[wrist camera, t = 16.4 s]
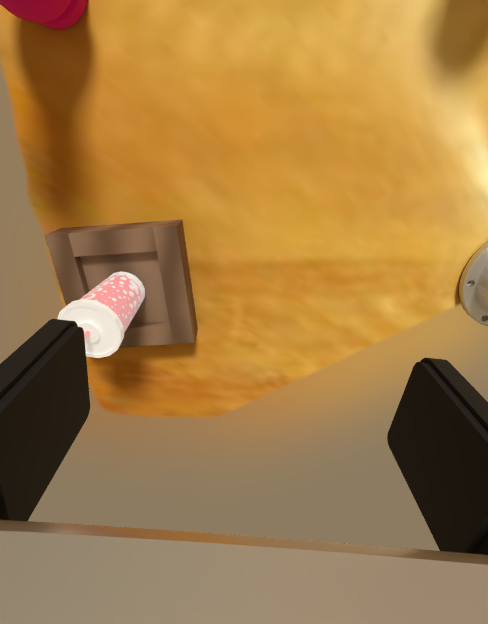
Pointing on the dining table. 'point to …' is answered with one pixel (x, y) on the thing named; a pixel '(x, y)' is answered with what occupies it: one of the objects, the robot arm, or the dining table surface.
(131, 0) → the dining table surface
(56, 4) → the pepper mill
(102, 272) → the walnut tray
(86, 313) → the beverage cup
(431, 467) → the robot arm
